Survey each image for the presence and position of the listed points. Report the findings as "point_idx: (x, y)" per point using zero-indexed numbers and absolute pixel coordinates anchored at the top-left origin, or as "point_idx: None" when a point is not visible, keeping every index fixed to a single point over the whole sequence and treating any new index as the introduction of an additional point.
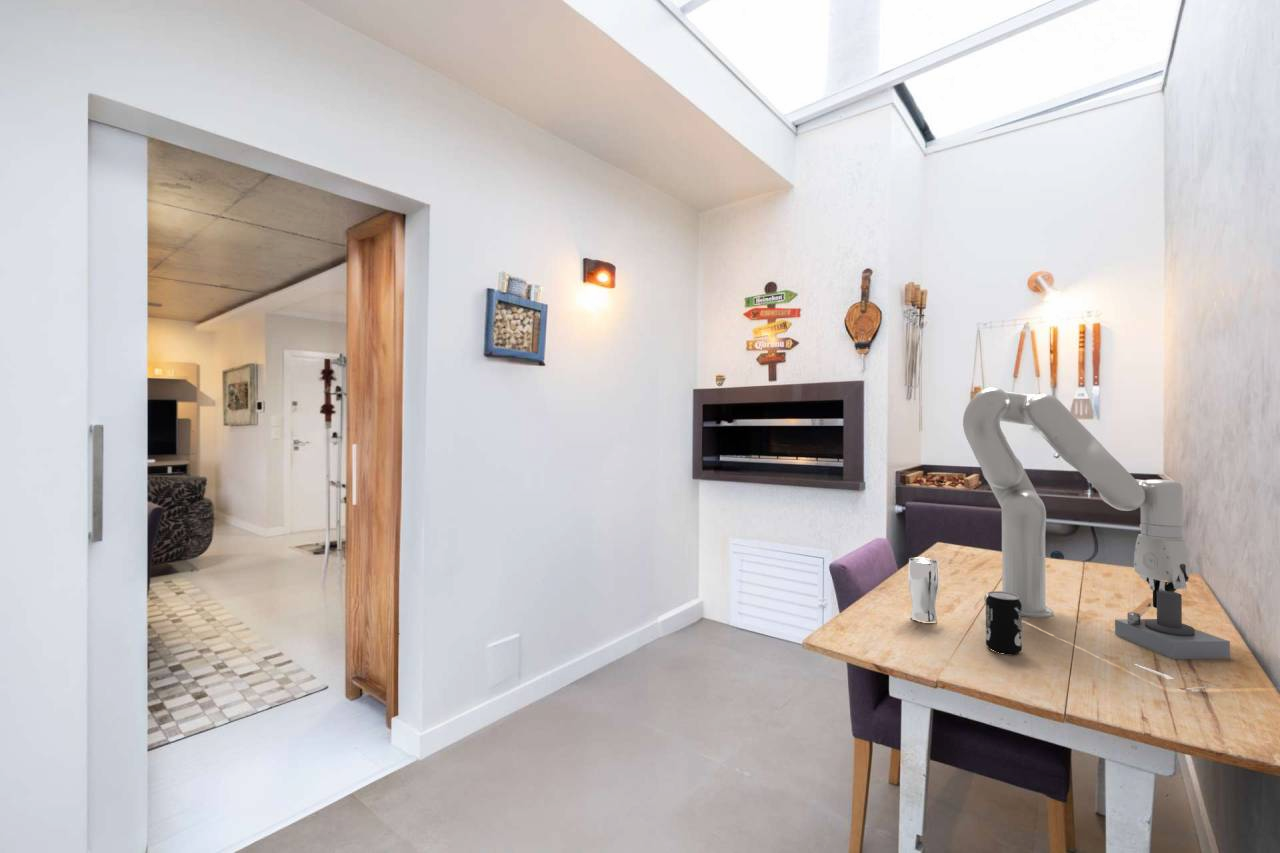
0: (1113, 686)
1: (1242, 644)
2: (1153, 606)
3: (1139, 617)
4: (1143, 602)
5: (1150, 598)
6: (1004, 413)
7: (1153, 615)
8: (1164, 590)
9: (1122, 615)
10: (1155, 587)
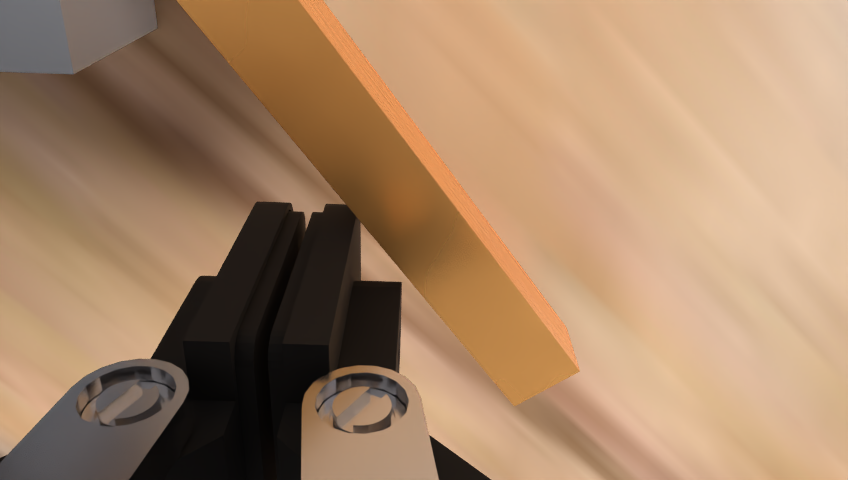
0: None
1: None
2: None
3: None
4: (324, 44)
5: (533, 357)
6: None
7: (726, 442)
8: (52, 414)
9: (814, 183)
10: (307, 439)
